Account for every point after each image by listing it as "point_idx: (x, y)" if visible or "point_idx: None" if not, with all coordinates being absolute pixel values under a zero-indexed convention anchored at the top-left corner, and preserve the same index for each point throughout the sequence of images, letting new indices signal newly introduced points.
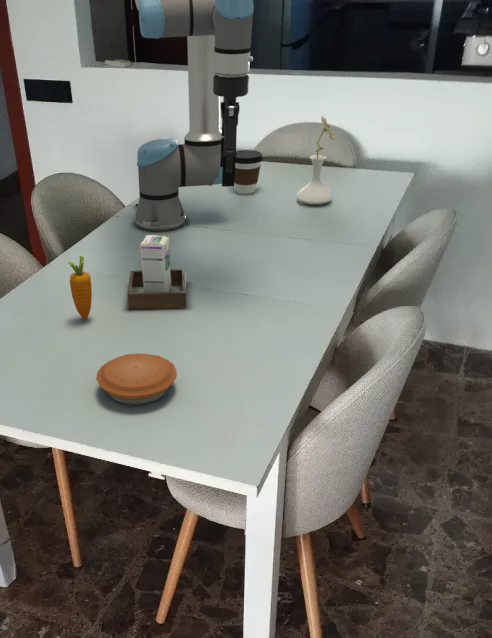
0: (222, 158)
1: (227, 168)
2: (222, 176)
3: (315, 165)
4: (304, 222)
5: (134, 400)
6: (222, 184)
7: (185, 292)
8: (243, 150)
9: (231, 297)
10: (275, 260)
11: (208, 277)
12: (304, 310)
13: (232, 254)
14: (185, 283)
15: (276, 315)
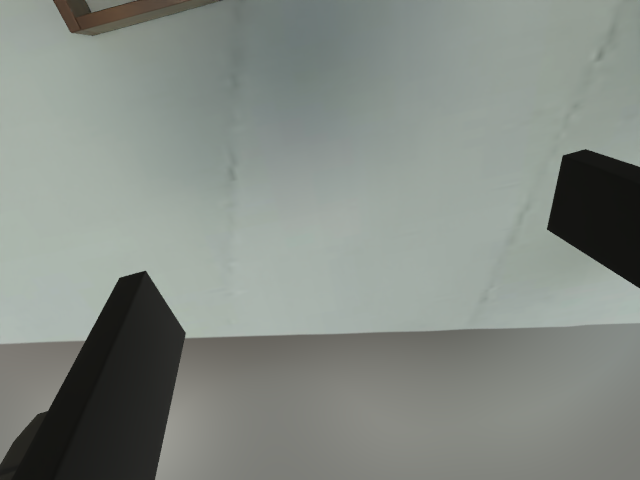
0: (620, 193)
1: (14, 470)
2: (89, 336)
3: None
4: None
5: None
6: (114, 291)
7: (70, 31)
8: None
9: (207, 147)
10: (416, 199)
11: (308, 59)
12: (198, 292)
13: (452, 95)
14: (138, 14)
15: (155, 254)
